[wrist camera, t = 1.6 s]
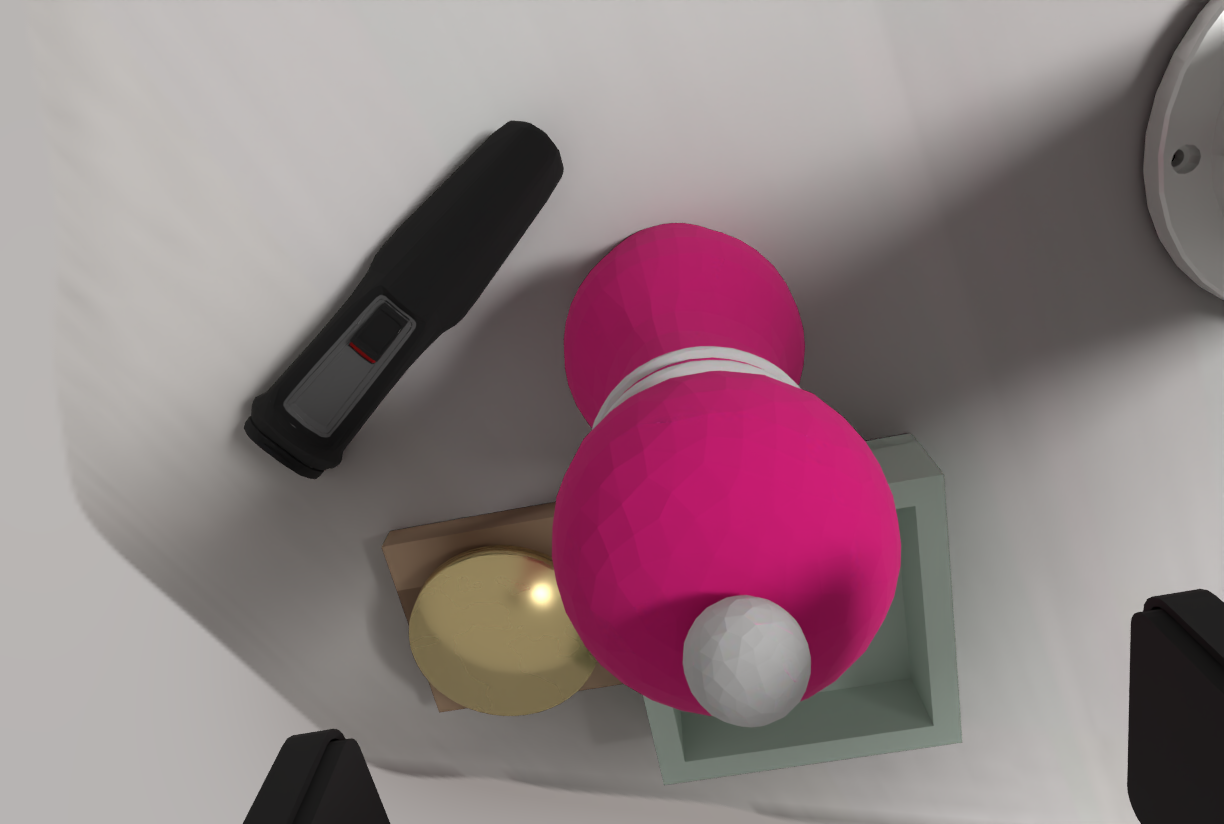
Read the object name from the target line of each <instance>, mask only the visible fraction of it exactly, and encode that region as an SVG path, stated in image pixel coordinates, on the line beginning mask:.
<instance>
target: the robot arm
mask: <svg viewBox="0 0 1224 824" xmlns="http://www.w3.org/2000/svg"><path fill="white" fill-rule="evenodd" d="M1174 153H1175V154H1176V156H1175V159H1174V161H1173V162H1172V163H1171V161H1172V158H1173V155H1174ZM1143 175H1144V182H1145V190H1146V198H1147V206H1148V209H1149V212H1150V215H1151V218H1152V221H1153V223H1154V226H1155V229H1156V232H1157V235H1158V237H1159V239H1160V241H1161V242H1162V244H1163V246H1164V247H1165V249H1166V250H1167V252H1168V253H1169V255H1170V256H1171V258H1172V259H1173V261H1174V262H1175V264H1176V265H1177V266H1178V267H1179V268H1180V269H1181V270H1182V271H1183V272H1184V273H1185V274H1186V275H1187V276H1188V277H1190V278H1191V279H1192V280H1193V281H1194V282H1195V283H1196V284H1197V285H1198V286H1199V287H1201V288H1203V289H1204V290H1206V291H1208V292H1210V293H1212V294H1213V295H1215V296H1217V297H1219V298H1220V299H1222V300H1224V0H1210V1H1209V2H1208V3H1207V5H1206V6H1205V7H1204V8H1203V9H1202V10H1201V11H1200V13H1199V14H1198V15H1197V17H1196V19H1195V20H1194V22H1193V23H1192V25H1191V26H1190V28H1189V30H1188V31H1187V33H1186V34H1185V36H1184V37H1183V39H1182V41H1181V42H1180V44H1179V45H1178V47H1177V48H1176V50H1175V52H1174V53H1173V56H1172V58H1171V60H1170V63H1169V65H1168V67H1167V69H1166V72H1165V74H1164V76H1163V78H1162V81H1161V83H1160V85H1159V88H1158V90H1157V92H1156V95H1155V99H1154V103H1153V107H1152V111H1151V115H1150V119H1149V123H1148V127H1147V131H1146V138H1145V152H1144V166H1143ZM1127 787H1128V795H1129V799H1130V802H1131V805H1132V808H1133V810H1134V812H1135V814H1136V816H1137V818H1138V820H1139V821H1140V823H1141V824H1224V602H1223V601H1221V600H1220V599H1219V598H1218V597H1217V596H1216V595H1214V594H1212V593H1211V592H1209V591H1208V590H1203V589H1197V590H1191V591H1185V592H1179V593H1173V594H1166V595H1160V596H1154V597H1151V598H1149V599H1147V601H1146V602H1145V604H1144V610H1143V612H1138V613H1135V614H1134V615H1133V617H1132V620H1131V642H1130V688H1129V733H1128V778H1127ZM243 824H390V822H389V819H388V817H387V814H386V812H385V809H384V807H383V804H382V802H381V799H380V797H379V794H378V792H377V789H376V787H375V784H374V782H373V779H372V777H371V774H370V772H369V769H368V767H367V764H366V762H365V759H364V757H363V754H362V752H361V749H360V747H359V745H358V743H357V741H355V740H354V739H345V737H344V736H343V734H342V733H341V732H340V731H339V730H338V729H330V730H324V731H317V732H311V733H305V734H299V735H293V736H291V737H289V738H288V739H287V740H286V741H285V743H284V744H283V746H282V748H281V750H280V752H279V754H278V756H277V758H276V760H275V762H274V764H273V765H272V767H271V770H270V771H269V773H268V775H267V777H266V779H265V781H264V783H263V785H262V787H261V789H260V791H259V793H258V795H257V797H256V799H255V801H254V803H253V805H252V807H251V808H250V810H249V812H248V814H247V817H246V819H245V820H244V822H243Z"/></svg>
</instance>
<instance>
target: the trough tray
mask: <svg viewBox="0 0 1224 824" xmlns="http://www.w3.org/2000/svg"><path fill="white" fill-rule="evenodd" d="M865 442H866V443H867V445H868V446H869V448H870V450H871V451H872V453H873V454H874V456H875V458H876V459H877V461H878V462H879V464H880V466H881V468H882V471H883V473H884V475H885V478H886V480H887V483H888V485H889V487H890V490H891V492H892V494H893V498H894V503H895V508H896V513H897V518H898V523H899V532H900V540H901V566H900V571H899V576H898V580H897V585H896V590H895V595H894V598H893V600H892V603H891V605H890V608H889V610H888V612H887V615H886V617H885V619H884V621H883V623H882V625H881V626H880V628H879V630H878V631H877V633H876V635H875V636H874V638H873V640H872V641H871V643H870V645H869V646H868V648H867V650H866V651H865V652H864V653H863V654H862V655H861V656H860V657H859V658H858V659H857V660H856V661H855V662H854V663H853V664H852V665H851V666H850V667H849V668H848V669H847V670H846V671H845V672H844V673H843V674H842V675H841V676H840V677H839V678H838V679H837V680H836V681H835V682H833V683H832V684H830V685H829V686H827V687H825V688H824V689H822V690H821V691H819V692H818V693H816V694H814V695H813V696H811V697H810V698H808V699H805V700H803V701H800V702H799V703H798V704H797V705H796V706H795V707H794V708H793V709H792V710H791V711H790V712H789V713H788V714H787V715H786V716H785V717H783V718H781V719H779V720H777V721H774V722H772V723H770V724H768V725H765V726H760V727H741V726H737V725H733V724H730V723H726V722H724V721H722V720H720V719H718V718H716V717H714V716H707V715H702V714H696V713H691V712H686V711H681V710H678V709H675V708H672V707H669V706H667V705H664V704H661V703H658V702H655V701H652V700H651V699H649V698H647V697H645V696H644V695H643V698H644V703H645V707H646V711H647V715H648V719H649V724H650V728H651V732H652V736H653V740H654V745H655V749H656V753H657V757H658V761H659V766H660V770H661V774H662V778H663V783H664V785H670V784H677V783H684V782H690V781H697V780H704V779H711V778H718V777H725V776H732V775H739V774H746V773H753V772H760V771H767V770H774V769H781V768H788V767H795V766H802V765H809V764H816V763H823V762H830V761H837V760H844V759H851V758H858V757H865V756H872V755H879V754H886V753H893V752H900V751H907V750H914V749H921V748H928V747H934V746H941V745H948V744H955V743H962V732H961V718H960V703H959V688H958V674H957V659H956V645H955V630H954V616H953V601H952V586H951V572H950V557H949V543H948V528H947V513H946V499H945V484H944V474H943V473H942V471H941V470H940V469H939V468H938V466H937V465H936V464H935V463H934V461H933V460H932V459H931V458H930V457H929V455H928V454H927V453H926V452H925V450H924V449H923V448H922V447H921V445H920V444H919V443H918V442H917V440H916V439H915V438H914V437H913V435H912V434H911V433H909V434H903V435H897V436H892V437H886V438H880V439H875V440H869V441H865Z"/></svg>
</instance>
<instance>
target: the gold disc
mask: <svg viewBox="0 0 1224 824" xmlns="http://www.w3.org/2000/svg"><path fill="white" fill-rule="evenodd" d="M409 640H410V646H411V650H412V654H413V656H414V659H415V661H416V663H417V665H418V667H419V668H420V670H421V672H422V673H423V675H424V676H425V677H426V678H427V680H428V681H429V682H430V683H431V684H432V685H433V686H434V687H435V688H436V689H437V690H438V691H440V692H441V693H442V694H444V695H445V696H446V697H448V698H449V699H451V700H453V701H454V702H456V703H458V704H460V705H462V706H465V707H467V708H469V709H472V710H475V711H478V712H482V713H487V714H492V715H501V716H519V715H528V714H533V713H538V712H541V711H544V710H547V709H550V708H552V707H554V706H556V705H559V704H560V703H562V702H564V701H565V700H567V699H568V698H570V697H571V696H572V695H573V694H575V693H576V692H577V691H578V690H579V689H580V688H581V687H582V686H583V685H584V684H585V682H586V681H587V679H588V678H589V677H590V675H591V673H592V671H593V669H594V667H595V665H596V662H597V660H596V659H595V657H594V656H593V655H592V654H591V653H590V651H589V650H588V649H587V648H586V647H585V645H584V644H583V642H582V640H581V638H580V637H579V635H578V633H577V631H576V630H575V628H574V626H573V624H572V623H571V621H570V619H569V617H568V616H567V614H566V612H565V609H564V605H563V602H562V599H561V596H560V592H559V589H558V586H557V582H556V577H555V572H554V566H553V560H552V557H550V556H548V555H546V554H544V553H541V552H538V551H535V550H532V549H528V548H523V547H517V546H509V545H495V546H486V547H481V548H476V549H472V550H469V551H466V552H464V553H461V554H459V555H457V556H455V557H453V558H451V559H449V560H448V561H446V562H445V563H444V564H442V565H441V566H440V567H438V568H437V569H436V570H435V571H434V572H433V573H432V574H431V575H430V577H429V578H428V579H427V580H426V582H425V583H424V585H423V587H422V589H421V590H420V593H419V595H418V597H417V600H416V602H415V605H414V608H413V610H412V613H411V617H410V622H409Z"/></svg>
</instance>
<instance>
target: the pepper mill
mask: <svg viewBox="0 0 1224 824" xmlns="http://www.w3.org/2000/svg"><path fill="white" fill-rule="evenodd" d="M804 352H805V342H804V331H803V326H802V322H801V319H800V315H799V312H798V308H797V306H796V303H795V301H794V299H793V297H792V295H791V293H790V291H789V288H788V286H787V284H786V283H785V281H784V280H783V278H782V277H781V276H780V274H779V273H778V271H777V270H776V269H775V267H774V266H773V265H772V264H771V263H770V262H769V261H768V260H767V259H766V258H764V257H763V256H762V255H761V254H760V253H759V252H758V251H757V250H755V249H754V248H752V247H750V246H749V245H747V244H746V243H744V242H742V241H741V240H739V239H736V238H734V237H731V236H729V235H726V234H724V233H721V232H717V231H713V230H710V229H707V228H704V227H701V226H698V225H692V224H686V223H669V224H662V225H658V226H654V227H650V228H646V229H643V230H641V231H639V232H637V233H635V234H633V235H631V236H629V237H628V238H627V239H625V240H624V241H622V242H621V243H620V244H618V245H617V246H616V247H615V248H613V250H612V251H611V252H610V253H609V254H608V255H606V256H605V257H604V258H603V259H602V260H601V261H600V262H599V263H598V264H597V265H596V266H595V267H594V268H593V269H592V270H591V271H590V272H589V274H588V275H587V277H586V278H585V279H584V281H583V282H582V284H581V285H580V287H579V288H578V291H577V293H576V295H575V297H574V299H573V301H572V303H571V306H570V309H569V313H568V316H567V319H566V325H565V333H564V358H565V370H566V375H567V380H568V385H569V388H570V390H571V393H572V395H573V398H574V400H575V403H576V405H577V407H578V408H579V410H580V412H581V413H582V415H583V416H584V418H585V419H586V421H587V422H588V424H589V425H590V426H591V428H592V430H591V432H590V433H589V434H588V435H587V436H586V437H585V438H584V439H583V441H582V443H581V445H580V447H579V449H578V451H577V453H576V454H575V456H574V458H573V460H572V462H571V464H570V466H569V468H568V470H567V472H566V474H565V475H564V478H563V481H562V483H561V486H560V489H559V492H558V494H557V498H556V505H555V512H554V519H553V526H552V560H553V566H554V572H555V577H556V582H557V586H558V589H559V592H560V596H561V599H562V602H563V605H564V609H565V612H566V614H567V616H568V617H569V619H570V621H571V623H572V624H573V626H574V628H575V630H576V631H577V633H578V635H579V637H580V638H581V640H582V642H583V644H584V645H585V647H586V648H587V649H588V650H589V651H590V653H591V654H592V655H593V656H594V657H595V659H596V660H597V661H598V662H599V663H600V665H601V666H603V667H604V668H605V669H606V670H607V671H609V672H610V673H611V674H612V675H613V676H615V677H616V678H617V679H618V680H620V681H621V682H622V683H623V684H625V685H627V686H628V687H630V688H632V689H633V690H635V691H637V692H639V693H640V694H642V695H644V696H645V697H647V698H649V699H651V700H652V701H655V702H658V703H661V704H664V705H667V706H669V707H672V708H675V709H678V710H681V711H686V712H691V713H696V714H702V715H707V716H714V717H716V718H718V719H720V720H722V721H724V722H726V723H730V724H733V725H737V726H741V727H760V726H765V725H768V724H770V723H772V722H774V721H777V720H779V719H781V718H783V717H785V716H786V715H787V714H788V713H789V712H790V711H791V710H792V709H793V708H794V707H795V706H796V705H797V704H798V703H799V702H800V701H803V700H805V699H808V698H810V697H811V696H813V695H814V694H816V693H818V692H819V691H821V690H822V689H824V688H825V687H827V686H829V685H830V684H832V683H833V682H835V681H836V680H837V679H838V678H839V677H840V676H841V675H842V674H843V673H844V672H845V671H846V670H847V669H848V668H849V667H850V666H851V665H852V664H853V663H854V662H855V661H856V660H857V659H858V658H859V657H860V656H861V655H862V654H863V653H864V652H865V651H866V650H867V648H868V646H869V645H870V643H871V641H872V640H873V638H874V636H875V635H876V633H877V631H878V630H879V628H880V626H881V625H882V623H883V621H884V619H885V617H886V615H887V612H888V610H889V608H890V605H891V603H892V600H893V598H894V595H895V590H896V585H897V580H898V576H899V571H900V566H901V540H900V532H899V523H898V518H897V513H896V508H895V503H894V498H893V494H892V492H891V490H890V487H889V485H888V483H887V480H886V478H885V475H884V473H883V471H882V468H881V466H880V464H879V462H878V461H877V459H876V458H875V456H874V454H873V453H872V451H871V450H870V448H869V446H868V445H867V443H866V442H865V441H864V440H863V438H862V437H861V436H860V435H859V434H858V433H857V432H856V431H855V430H854V428H853V427H852V426H851V425H850V424H849V423H848V422H847V421H846V420H845V418H844V417H843V416H841V415H840V414H839V413H837V412H836V411H835V410H834V409H832V408H831V407H830V406H828V405H827V404H826V403H825V402H823V401H822V400H821V399H819V398H818V397H817V396H816V395H814V394H813V393H810V392H808V391H805V390H802V389H801V388H800V387H799V386H798V385H799V383H800V378H801V374H802V369H803V365H804Z"/></svg>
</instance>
